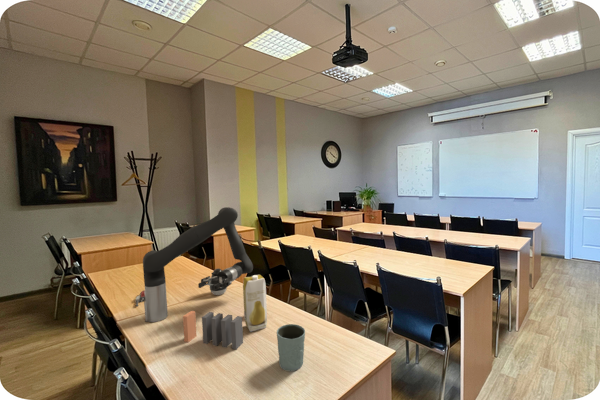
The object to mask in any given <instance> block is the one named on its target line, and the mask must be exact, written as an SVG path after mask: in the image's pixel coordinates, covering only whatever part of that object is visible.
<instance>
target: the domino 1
mask: <svg viewBox="0 0 600 400" xmlns="http://www.w3.org/2000/svg"><path fill="white" fill-rule="evenodd" d="M196 318H197V317H196V311H194V310H191V311H189V312H186V314H184V315H183V316H182V323H183V341H184V343H190V342H191V341H192V340H194V339H195V338H196V337H197V321H196Z"/></svg>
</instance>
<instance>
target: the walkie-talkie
mask: <svg viewBox="0 0 600 400" xmlns="http://www.w3.org/2000/svg"><path fill="white" fill-rule="evenodd" d="M145 301H146V298H145V289H144V290H142V291H140V293H139V295H138V296H137V295H136V297H135V307H138V306H139V303H143V302H145Z"/></svg>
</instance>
